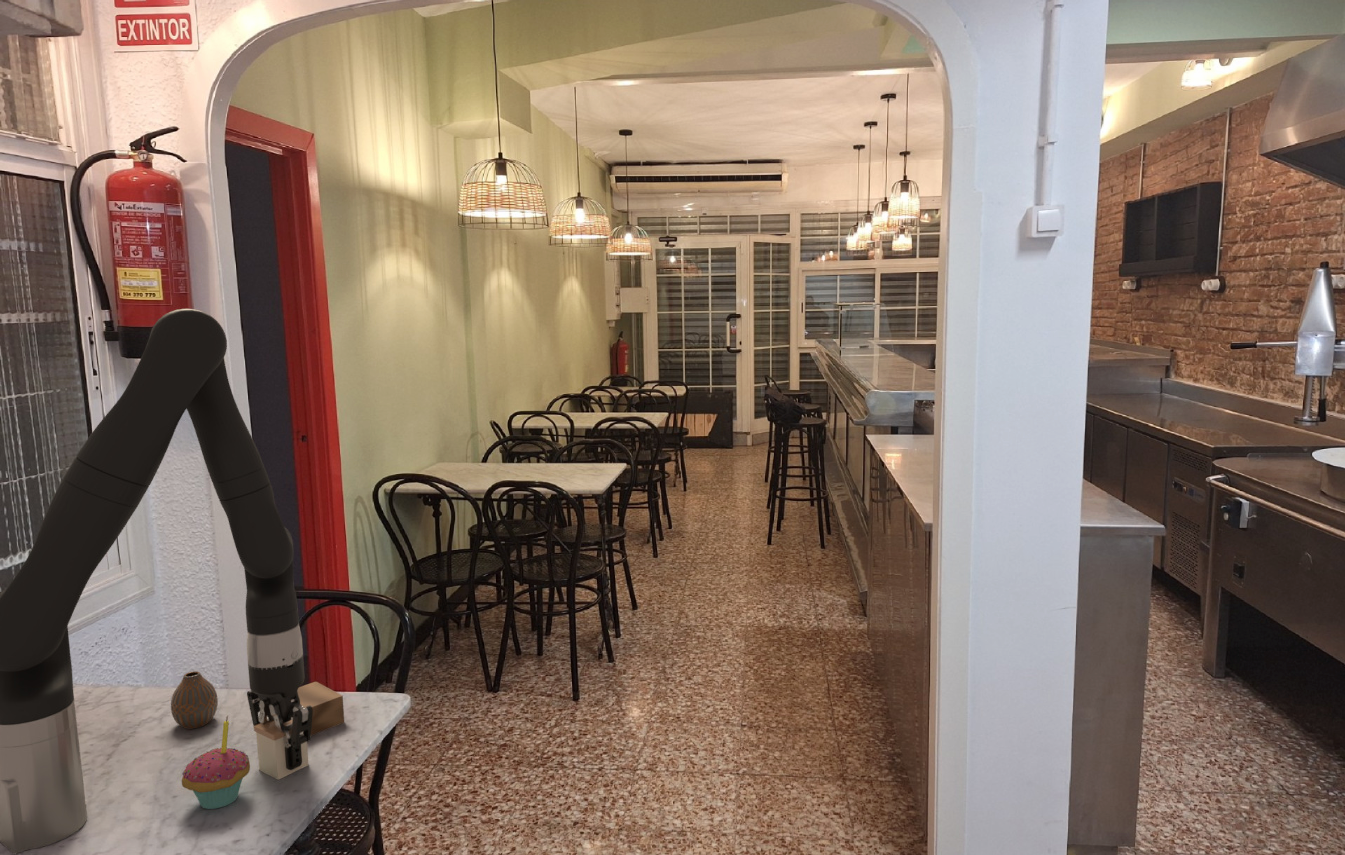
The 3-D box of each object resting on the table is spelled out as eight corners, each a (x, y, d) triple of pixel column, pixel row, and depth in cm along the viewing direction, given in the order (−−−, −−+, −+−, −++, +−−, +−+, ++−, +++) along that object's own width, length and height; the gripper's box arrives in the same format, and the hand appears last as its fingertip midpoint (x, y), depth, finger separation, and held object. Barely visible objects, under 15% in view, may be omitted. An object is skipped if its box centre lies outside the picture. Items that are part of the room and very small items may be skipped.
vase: (227, 714, 149) (223, 666, 148) (202, 734, 142) (197, 683, 141) (190, 713, 150) (186, 665, 148) (163, 732, 143) (158, 682, 142)
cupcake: (236, 777, 128) (230, 701, 127) (263, 797, 123) (257, 718, 121) (174, 803, 122) (167, 723, 120) (200, 825, 117) (192, 742, 115)
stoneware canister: (277, 780, 127) (274, 735, 127) (257, 770, 131) (253, 726, 130) (310, 764, 132) (307, 721, 131) (290, 755, 135) (287, 712, 134)
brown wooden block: (292, 744, 139) (290, 715, 138) (266, 727, 144) (264, 699, 144) (344, 723, 146) (342, 695, 145) (317, 708, 151) (315, 681, 151)
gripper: (225, 653, 130) (234, 759, 132) (279, 675, 122) (287, 787, 124) (272, 638, 136) (279, 739, 138) (326, 657, 128) (334, 765, 130)
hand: (283, 761), depth 131 cm, fingers closed on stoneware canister, 5 cm apart
